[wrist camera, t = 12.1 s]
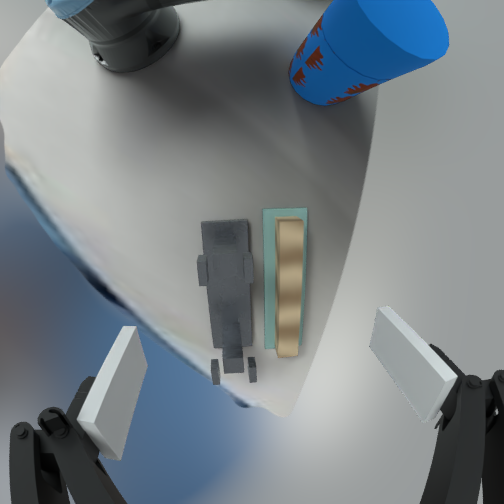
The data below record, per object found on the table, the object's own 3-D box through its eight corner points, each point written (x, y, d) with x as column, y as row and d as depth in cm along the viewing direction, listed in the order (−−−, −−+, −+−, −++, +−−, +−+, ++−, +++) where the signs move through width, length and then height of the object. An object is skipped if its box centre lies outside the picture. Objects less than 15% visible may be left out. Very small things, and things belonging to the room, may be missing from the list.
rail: (274, 216, 43) (279, 221, 39) (296, 216, 43) (303, 221, 39) (274, 344, 50) (278, 357, 46) (292, 342, 50) (297, 355, 46)
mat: (262, 208, 43) (263, 209, 42) (306, 207, 43) (307, 208, 43) (264, 347, 51) (265, 349, 50) (300, 343, 51) (301, 345, 51)
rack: (201, 221, 42) (191, 244, 30) (246, 219, 43) (255, 241, 31) (214, 344, 49) (212, 393, 37) (251, 342, 50) (259, 390, 38)
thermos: (357, 69, 36) (454, 16, 13) (338, 118, 39) (443, 85, 15) (300, 39, 34) (364, -47, 11) (277, 87, 37) (335, 9, 13)
